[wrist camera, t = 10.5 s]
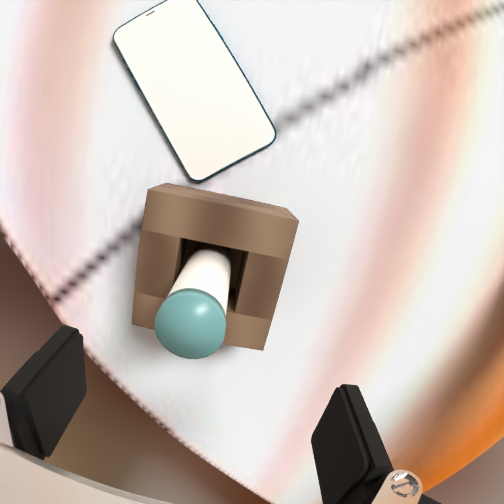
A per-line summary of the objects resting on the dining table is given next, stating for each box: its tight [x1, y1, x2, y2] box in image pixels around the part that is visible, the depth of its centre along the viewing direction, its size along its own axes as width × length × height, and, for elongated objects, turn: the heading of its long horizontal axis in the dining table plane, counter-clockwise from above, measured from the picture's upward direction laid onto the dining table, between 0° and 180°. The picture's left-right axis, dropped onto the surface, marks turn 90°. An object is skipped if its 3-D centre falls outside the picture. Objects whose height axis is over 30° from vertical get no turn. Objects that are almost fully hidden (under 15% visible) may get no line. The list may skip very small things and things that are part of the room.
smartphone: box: [113, 0, 276, 181], centre depth 23 cm, size 8×1×16 cm
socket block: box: [132, 183, 299, 351], centre depth 24 cm, size 10×10×6 cm
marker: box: [155, 242, 232, 359], centre depth 20 cm, size 3×3×12 cm
